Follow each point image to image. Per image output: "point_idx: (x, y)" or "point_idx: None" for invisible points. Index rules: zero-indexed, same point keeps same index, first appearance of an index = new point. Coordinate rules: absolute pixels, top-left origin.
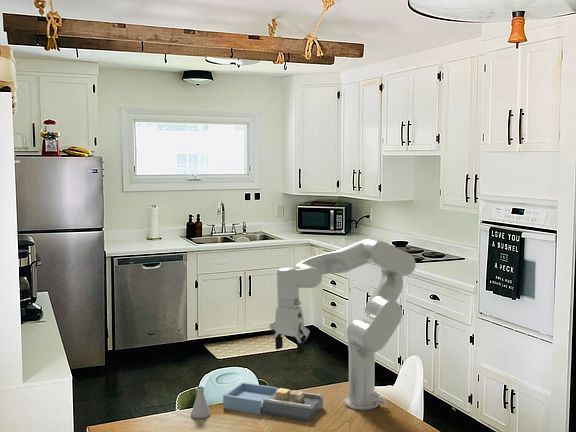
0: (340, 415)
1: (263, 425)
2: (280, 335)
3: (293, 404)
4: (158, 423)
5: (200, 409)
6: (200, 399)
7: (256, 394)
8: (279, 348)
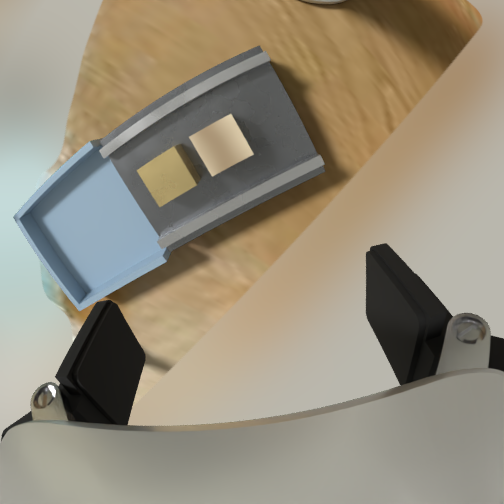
0: (340, 61)
1: (244, 276)
2: (75, 412)
3: (265, 192)
4: None
5: None
6: None
7: (72, 199)
8: (133, 336)
